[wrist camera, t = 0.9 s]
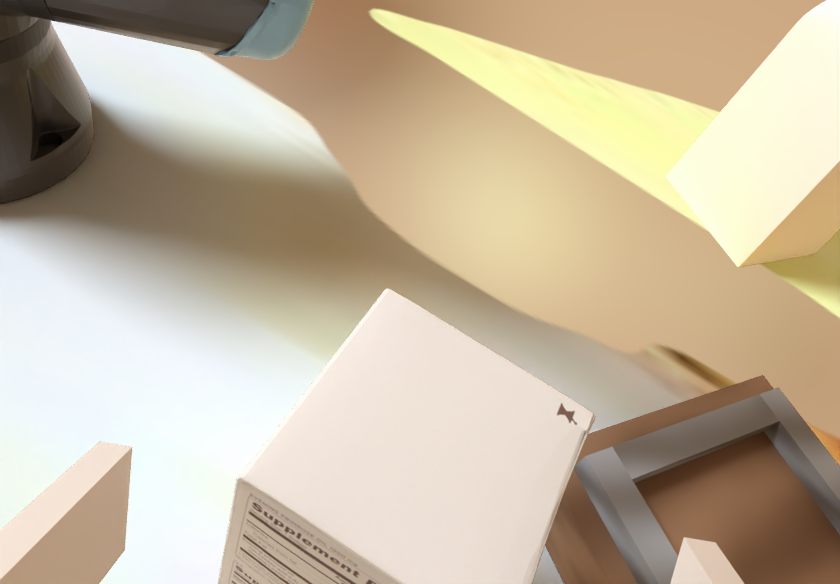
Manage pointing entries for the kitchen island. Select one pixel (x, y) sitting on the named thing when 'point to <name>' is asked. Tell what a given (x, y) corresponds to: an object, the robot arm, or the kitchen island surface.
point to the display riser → (703, 494)
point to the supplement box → (407, 465)
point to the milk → (774, 151)
